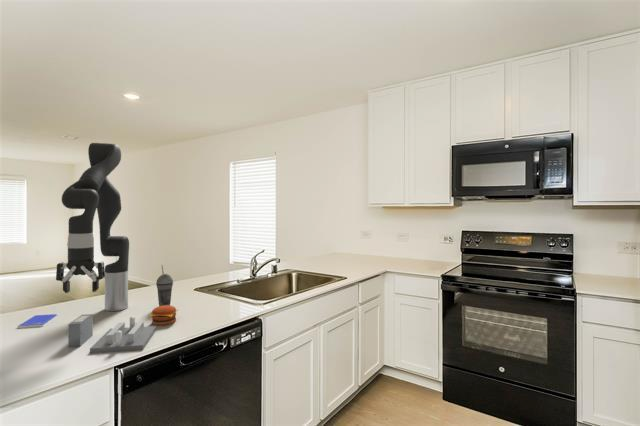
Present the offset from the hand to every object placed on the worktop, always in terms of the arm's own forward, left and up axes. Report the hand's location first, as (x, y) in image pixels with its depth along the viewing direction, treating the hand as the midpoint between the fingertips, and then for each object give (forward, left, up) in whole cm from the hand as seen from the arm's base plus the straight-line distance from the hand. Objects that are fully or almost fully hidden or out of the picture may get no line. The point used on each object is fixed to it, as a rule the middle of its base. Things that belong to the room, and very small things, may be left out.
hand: (81, 291), depth 121 cm
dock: (+2, +15, -18) cm, 23 cm away
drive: (0, 0, -18) cm, 18 cm away
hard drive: (-24, -25, -18) cm, 39 cm away
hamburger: (-16, +24, -18) cm, 34 cm away
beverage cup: (-36, +20, -18) cm, 45 cm away
